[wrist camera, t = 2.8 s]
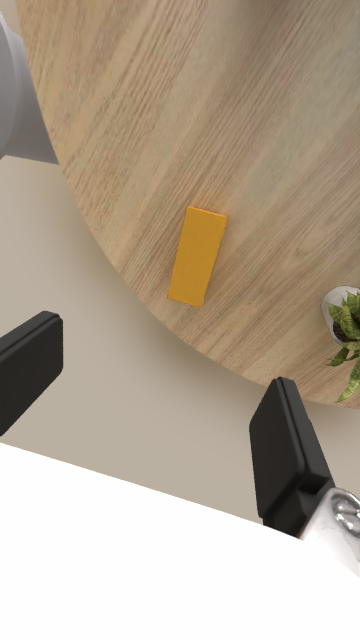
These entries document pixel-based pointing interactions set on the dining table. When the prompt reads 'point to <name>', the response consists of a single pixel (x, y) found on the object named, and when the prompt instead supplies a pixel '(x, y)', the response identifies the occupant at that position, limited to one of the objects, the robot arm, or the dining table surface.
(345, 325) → the house plant
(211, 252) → the block
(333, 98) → the dining table surface
